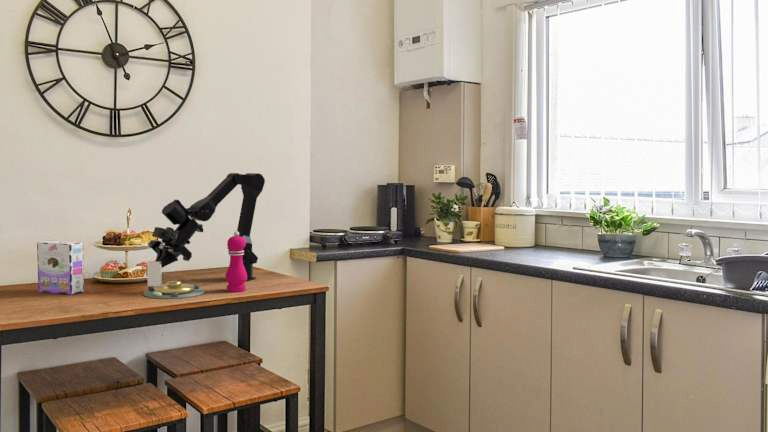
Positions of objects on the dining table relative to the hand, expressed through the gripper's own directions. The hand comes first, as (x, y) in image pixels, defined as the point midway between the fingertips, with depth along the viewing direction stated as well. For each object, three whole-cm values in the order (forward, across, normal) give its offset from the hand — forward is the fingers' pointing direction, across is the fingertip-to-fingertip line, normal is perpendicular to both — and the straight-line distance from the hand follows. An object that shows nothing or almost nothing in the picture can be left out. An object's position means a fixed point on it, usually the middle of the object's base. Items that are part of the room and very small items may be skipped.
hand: (153, 270), depth 219 cm
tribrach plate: (+3, +6, +8) cm, 10 cm away
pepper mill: (-9, +16, +20) cm, 27 cm away
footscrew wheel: (+3, +6, +6) cm, 9 cm away
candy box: (+20, -20, -10) cm, 30 cm away
